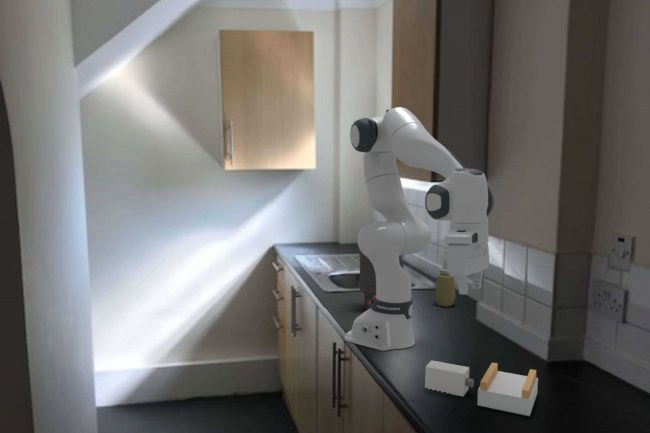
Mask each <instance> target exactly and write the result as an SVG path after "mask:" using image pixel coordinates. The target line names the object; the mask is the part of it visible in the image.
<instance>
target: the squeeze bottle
mask: <svg viewBox="0 0 650 433" xmlns="http://www.w3.org/2000/svg"><path fill="white" fill-rule="evenodd" d="M434 289H435V291H434V298H435V301H436V305H437V306H440V307H452V306H453V305H454V304H453V303H454V301H455V299H456V286H455V277H453V276H450V275H449V272H448V267H447V259H445V260H444V262H443V266H442V268H440V269H439V273H438V274H437V276H436V282H435V288H434Z"/></svg>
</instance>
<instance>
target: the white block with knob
mask: <svg viewBox="0 0 650 433" xmlns="http://www.w3.org/2000/svg"><path fill="white" fill-rule="evenodd" d="M474 382H475V381H474V379H473V378H470V366H463V365H458V364H453V363H447V362H442V361H436V360H430V361H429V362H428V363H427V365H426V366H425V377H424V389H425V388H428V389H427V390H430V389H432V390H431V391H434V390H437V391H436V392H439V391H441V392H440V393H444V392H446V393H445V394H449V393H450V395H454V396H459V397H464V396H465V395H466V394H467V392H468V391H469V388H473V387H474Z"/></svg>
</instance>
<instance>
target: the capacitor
mask: <svg viewBox="0 0 650 433" xmlns="http://www.w3.org/2000/svg"><path fill="white" fill-rule="evenodd" d="M358 257H359V279H358V283H359V286H358V288H359V290H360V291H361V293H363V295H364V307H363V308H364V309H365V310H366V311H367V310H368V309H370V308H371V304H370V305H369V303H370V302H369V301H370V300H371V299H372V298H373V297H374V296H375V295H376V274H375V270H374V267H373V265H372V263H371V261H370V260H369V258H368V257H366V256H365V255H364V254H363V253H362V252H361V250H360V249H359V256H358Z"/></svg>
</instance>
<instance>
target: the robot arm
mask: <svg viewBox="0 0 650 433" xmlns="http://www.w3.org/2000/svg"><path fill="white" fill-rule="evenodd" d="M349 135H350V138H349V139H350V143H351V146H352V147H353V149H354V150H355V151H356V152H359V153H364V154H363V161H362V162H363V163H362V164H363V175H364V180H365V182H364V183H365V187H366V191H367V196H368V201H369V204H370V206H371V208H372V209H373V210H375V211H376V212H378V213H380V215H382V217H383V218H384V219H385V221H376V222H372V223H369V224H367V225H364V226H362V227H361V228H360V230H359V232H358V235H357V246H358V248H359V251H360V250H361V252H362V253H363V254H364V255H365V256H366V257H368V258H369V260H370V261H371V263H372V265H373V267H374V270H375V274H376V295H375V296H374V297H373V298H372V299H371V300H370V301H369V302H370V303H369V305H370V304H371V308H370V309H368V310H367V309H366V311H365V310H364V312H363V313H361V314H360V315H358V316H357V317H356V318H355V319H354V321H353V323H352V327H351V330H349V331H348V332H346V333H345V334H344V335H345V336H344V341H346V342H347V343H352V344H356V345H360V346H364V347H367V348H370V349H374V350H379V351H384V352H385V351H391V350H400V349H401V350H402V349H407V348H411V347H413V346H414V345H415V344H416V340H415V336H414V331H413V325H412V324H413V323H412V317H413V309H414V308H413V307H414V305H413V299H412V274H411V273H410V271H408V270H407V269H406V268H404V267H402V265H401V263H400V256H405V255H413V254H418V253H420V252H422V251H424V250H426V249H427V248H428V247H429V246H430V244H431V241H432V232H431V229H430V228H429V225H428V224H427V223H426V222H424V221H423V220H421V219H420V218H419V217H418V216H417V215H416V214H415V212H414V211H413V210H412V208H411V207H410V205H409V202H408V201H407V199H406V196H405V192H404V189H403V185H402V181H401V176H400V173H399V168H398V165H397V160H399V162H401V163H402V164H404V165H405V166H408V167H411V168H412V167H413V168H418V169H422V170H427V171H432V172H434V173H436V174H439V175H440V176H442V177H443V178H444V179H445V180H443V181H441V182H439V183H436V184H433V185H432V186H430V188H428V190H427V192H426V194H425V199H424V205H425V209H426V212H427V214H428V215H429V216H430V218H432V219H433V220H436V221H450V228H449V230H448V232H447V233H446V234H445V235H444V243H445V245H447V247H446V260H447V267H448V272H449V275H450V276H453V277H454V278H455V279H456V283H457V286H458V294H459V295H464V296H465V295H467V294H468V293H469V286H468V284H467V280H468V276H470V275H473V280H472V282H471V286H472V287H471V288H472V289H473V290H480V289H481V287H482V279H483V275H484V273H483V272H484V270H488V269H489V267H490V248H489V247H490V246H489V243H488V242H489V218H488V216H490V215H491V213H492V211H493V209H494V204H495V199H494V195H493V192H492V190H491V188H490V187H489V186H488V183H487V178H486V175H485V173H484V172H483V171H482V170H480V169H476V168H467V167H466V166H465V164H463V162H462V161H460V159H459V158H458V157H457V156H456V155H455V154H454V153H453V151H451V150H449V148H447V147H446V146H445V145H442V143H441V142H439V141H438V140H437V139H435V138H434V137H433V135H431V133H430V132H428V130H427V129H426V127H424V125H423V124H422V122H421V121H420V120H419V119H418V117H416V115H415V114H413V113H412V111H410V110H409V109H407V108H405V107H403V106H397V107H393V108H391V109H389V110H388V111H387V112H386V113H385V114H384V115H381V116H380V115H379V116H374V117H362V118H359V119H357V120H355V121H354V122H353V124H352V125H351V128H350V134H349Z"/></svg>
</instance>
